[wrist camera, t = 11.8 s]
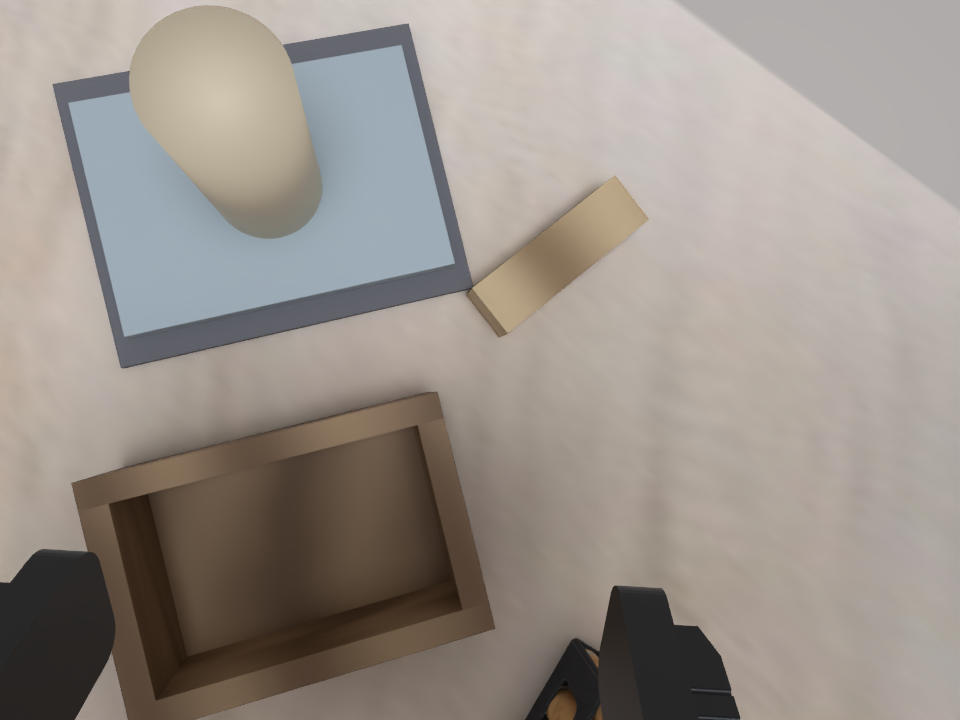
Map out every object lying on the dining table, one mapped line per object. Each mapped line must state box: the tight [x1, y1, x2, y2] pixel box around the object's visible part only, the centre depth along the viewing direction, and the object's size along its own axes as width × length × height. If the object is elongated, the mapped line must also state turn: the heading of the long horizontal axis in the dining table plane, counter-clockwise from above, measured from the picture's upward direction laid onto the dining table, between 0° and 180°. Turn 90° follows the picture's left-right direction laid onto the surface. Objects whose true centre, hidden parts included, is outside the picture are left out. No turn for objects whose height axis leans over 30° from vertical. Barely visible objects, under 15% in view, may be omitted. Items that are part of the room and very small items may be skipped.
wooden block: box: [466, 176, 649, 337], centre depth 32 cm, size 8×2×2 cm, turn 129°
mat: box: [53, 24, 473, 368], centre depth 31 cm, size 15×12×1 cm
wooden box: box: [71, 392, 495, 720], centre depth 28 cm, size 13×9×5 cm
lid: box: [68, 6, 455, 339], centre depth 25 cm, size 14×10×11 cm
